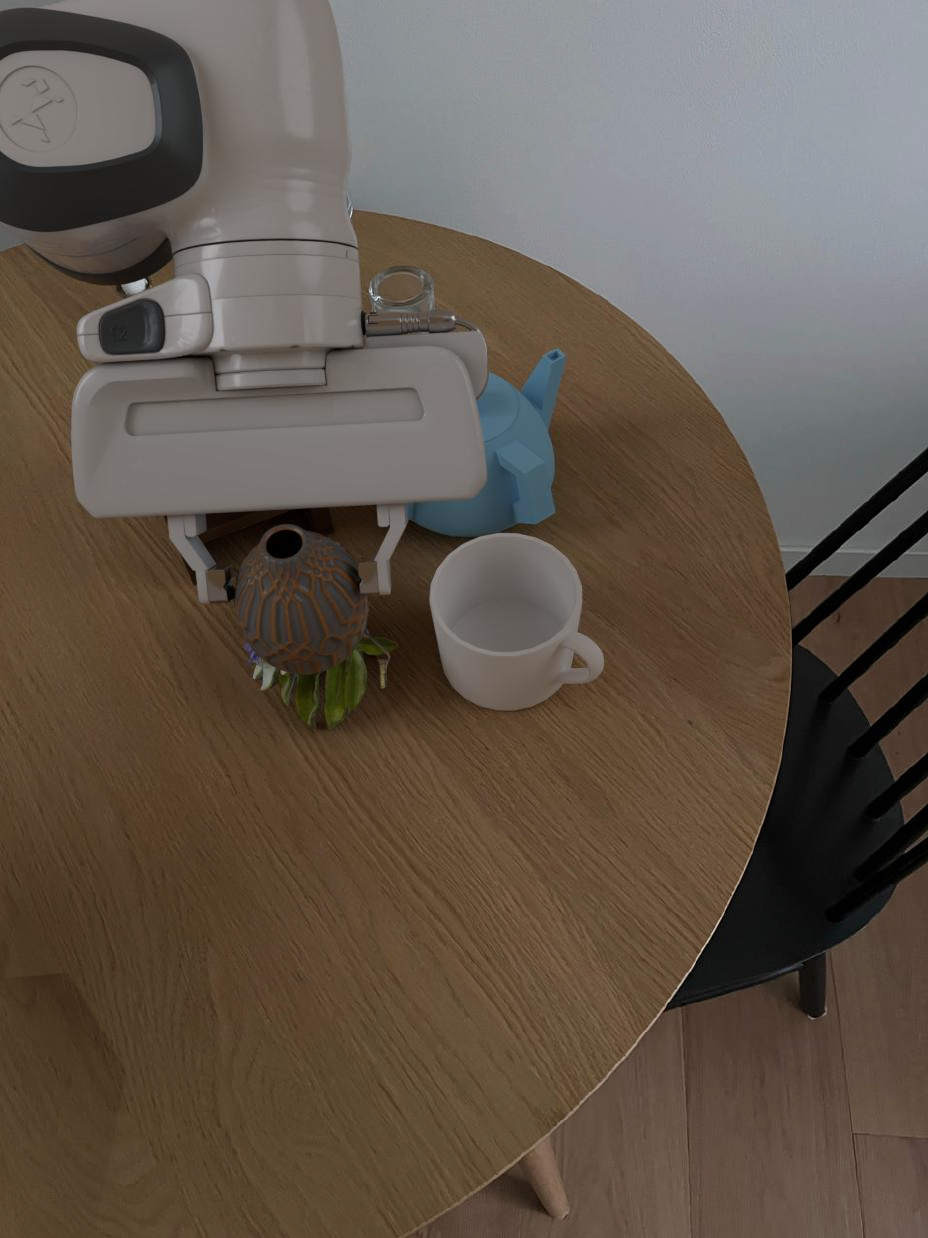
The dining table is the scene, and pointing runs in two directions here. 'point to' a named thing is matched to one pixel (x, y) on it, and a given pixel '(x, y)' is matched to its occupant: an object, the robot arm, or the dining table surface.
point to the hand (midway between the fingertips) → (295, 598)
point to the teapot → (507, 458)
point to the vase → (300, 601)
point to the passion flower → (327, 681)
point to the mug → (510, 621)
